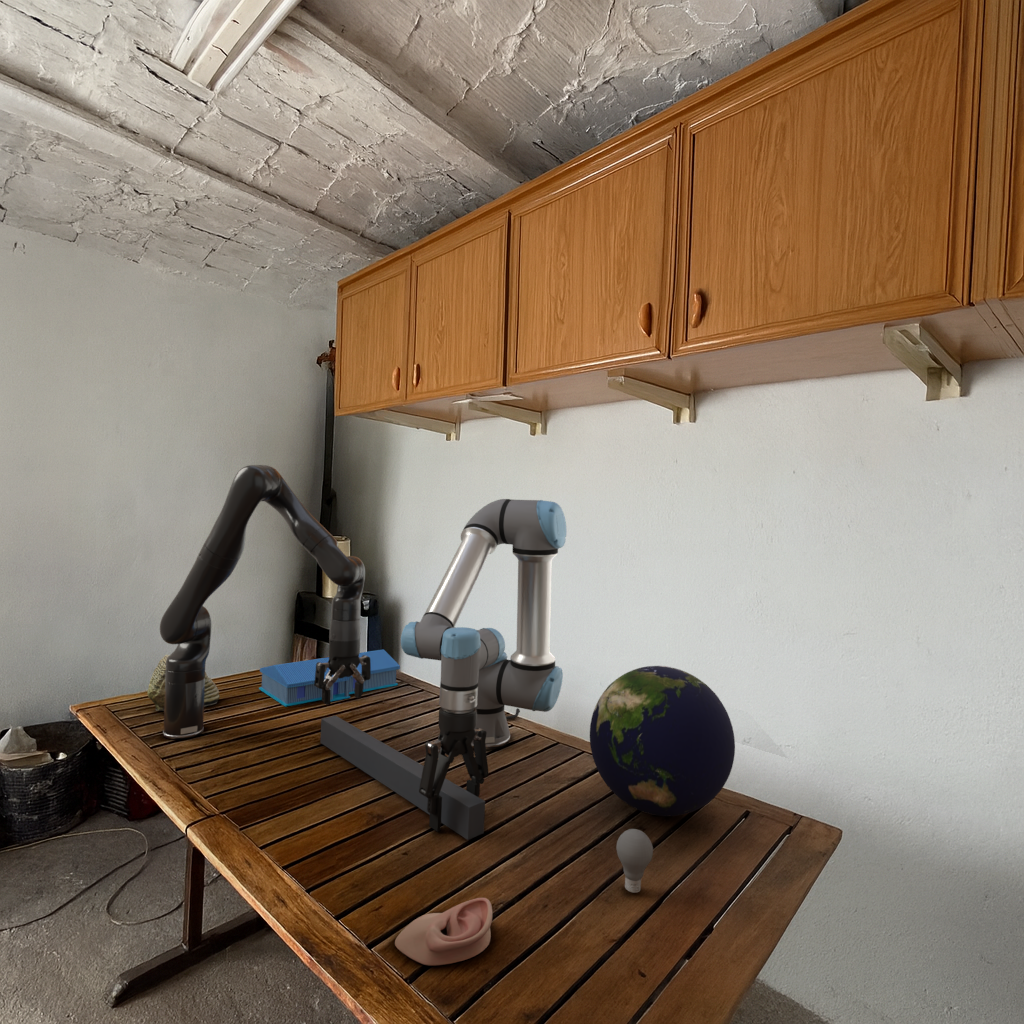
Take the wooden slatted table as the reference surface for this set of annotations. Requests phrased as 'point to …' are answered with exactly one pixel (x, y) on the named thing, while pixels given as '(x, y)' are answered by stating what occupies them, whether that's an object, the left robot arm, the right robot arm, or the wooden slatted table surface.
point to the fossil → (158, 687)
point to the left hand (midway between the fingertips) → (342, 700)
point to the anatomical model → (448, 934)
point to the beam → (403, 775)
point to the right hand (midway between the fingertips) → (453, 820)
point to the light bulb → (634, 857)
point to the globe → (662, 740)
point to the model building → (298, 679)
